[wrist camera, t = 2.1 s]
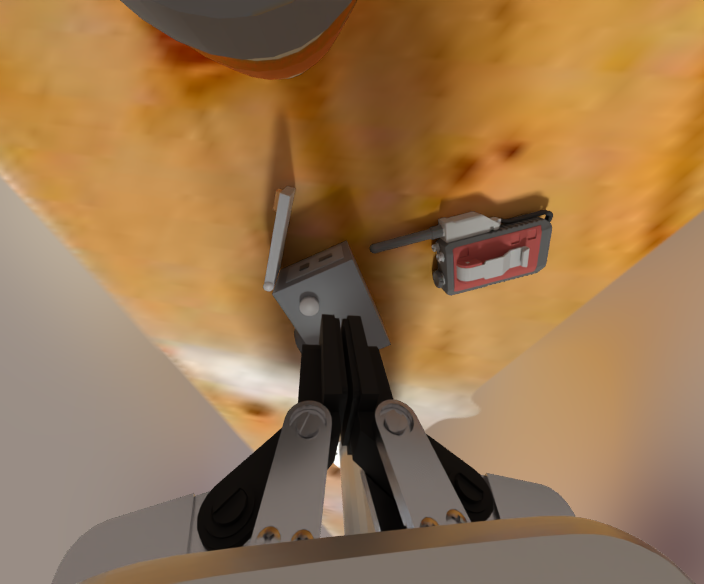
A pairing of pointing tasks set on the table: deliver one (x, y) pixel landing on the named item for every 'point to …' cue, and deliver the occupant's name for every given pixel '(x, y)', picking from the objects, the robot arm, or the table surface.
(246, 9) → the reusable coffee cup
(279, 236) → the side door
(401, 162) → the table surface
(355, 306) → the camera body
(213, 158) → the table surface
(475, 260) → the walkie-talkie
